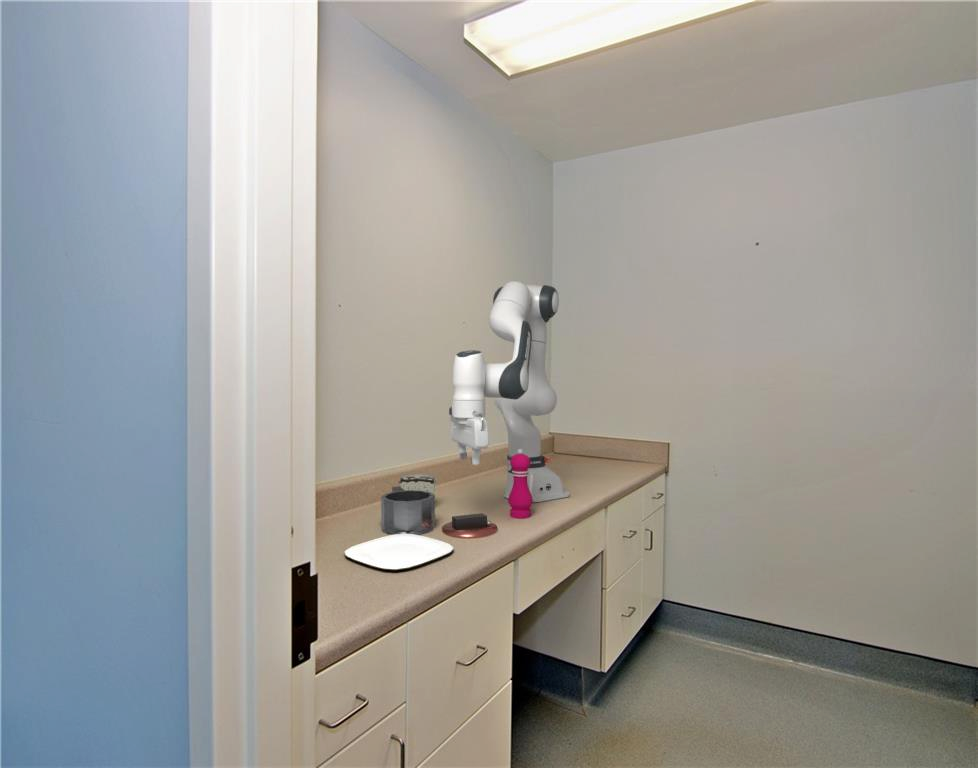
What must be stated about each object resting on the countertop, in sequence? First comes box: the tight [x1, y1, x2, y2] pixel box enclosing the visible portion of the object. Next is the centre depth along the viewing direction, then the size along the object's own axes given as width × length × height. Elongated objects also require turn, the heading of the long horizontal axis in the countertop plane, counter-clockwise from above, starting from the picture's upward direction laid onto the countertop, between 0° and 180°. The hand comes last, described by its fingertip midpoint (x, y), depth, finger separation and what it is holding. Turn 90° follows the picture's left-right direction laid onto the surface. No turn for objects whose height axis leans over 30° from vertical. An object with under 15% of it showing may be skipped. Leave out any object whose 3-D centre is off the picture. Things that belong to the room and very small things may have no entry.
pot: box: [380, 485, 436, 536], centre depth 156 cm, size 14×22×9 cm, turn 22°
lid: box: [441, 513, 498, 540], centre depth 151 cm, size 15×15×4 cm
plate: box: [344, 534, 455, 571], centre depth 131 cm, size 22×22×2 cm
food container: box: [397, 473, 438, 495], centre depth 176 cm, size 12×6×10 cm, turn 84°
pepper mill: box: [507, 449, 534, 519], centre depth 165 cm, size 7×7×20 cm
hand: (469, 461), depth 150 cm, fingers open, 8 cm apart
